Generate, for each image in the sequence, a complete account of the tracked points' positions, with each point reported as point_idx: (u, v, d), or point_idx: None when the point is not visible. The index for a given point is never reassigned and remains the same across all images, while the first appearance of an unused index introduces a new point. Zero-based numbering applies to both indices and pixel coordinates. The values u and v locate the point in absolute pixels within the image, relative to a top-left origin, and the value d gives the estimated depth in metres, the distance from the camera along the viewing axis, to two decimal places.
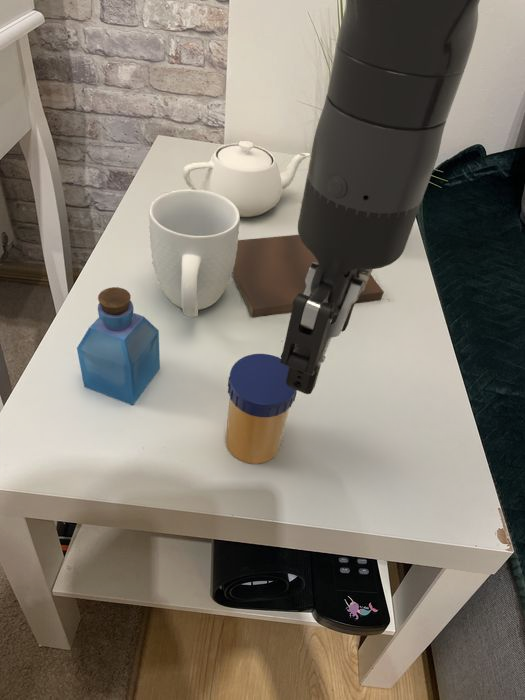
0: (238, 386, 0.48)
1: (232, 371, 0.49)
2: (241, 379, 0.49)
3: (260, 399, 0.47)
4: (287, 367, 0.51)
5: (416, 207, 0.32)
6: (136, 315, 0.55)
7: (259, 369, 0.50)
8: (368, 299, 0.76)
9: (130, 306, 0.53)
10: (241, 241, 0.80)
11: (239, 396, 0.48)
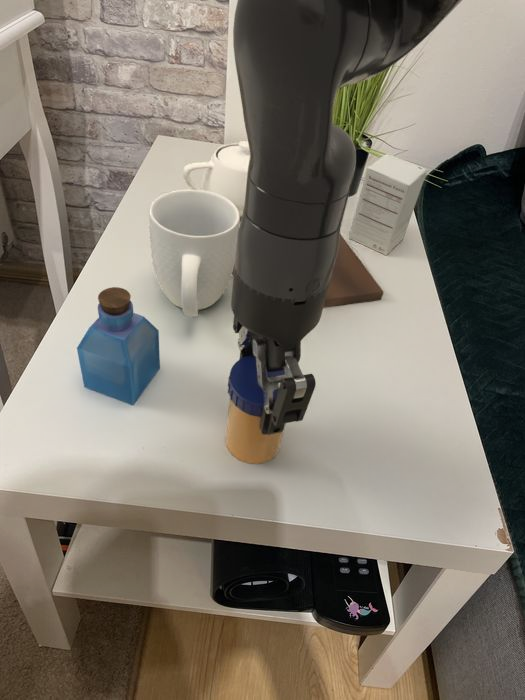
0: (238, 386, 0.48)
1: (232, 371, 0.49)
2: (241, 379, 0.49)
3: (260, 399, 0.47)
4: None
5: (234, 266, 0.40)
6: (136, 315, 0.55)
7: None
8: (368, 299, 0.76)
9: (130, 306, 0.53)
10: None
11: (239, 396, 0.48)
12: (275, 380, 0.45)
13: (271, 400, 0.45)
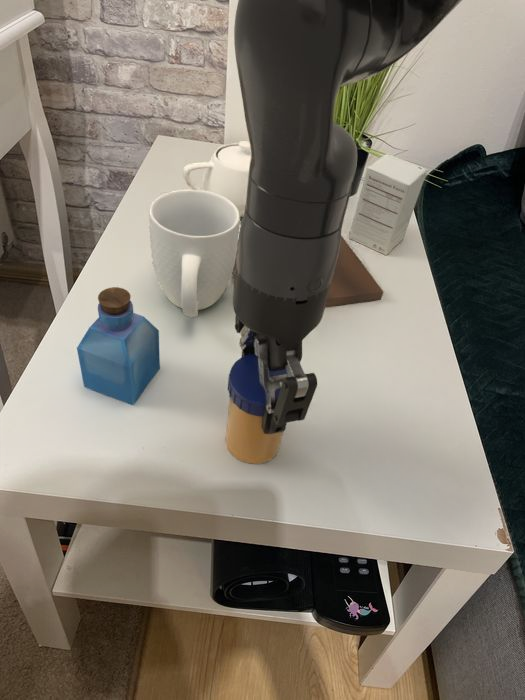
0: None
1: (255, 400, 0.47)
2: None
3: None
4: (249, 357, 0.51)
5: (236, 266, 0.40)
6: (136, 315, 0.55)
7: (252, 379, 0.49)
8: (368, 299, 0.76)
9: (130, 306, 0.53)
10: None
11: None
12: (276, 380, 0.45)
13: (273, 399, 0.45)
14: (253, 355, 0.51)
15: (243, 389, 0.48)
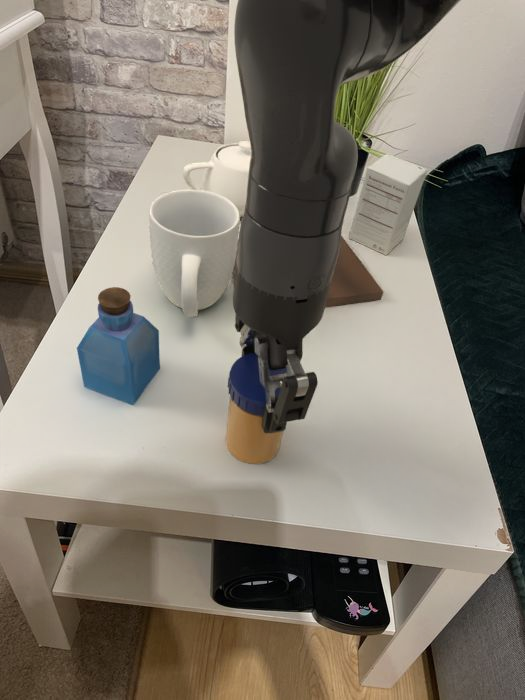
0: None
1: None
2: None
3: None
4: (236, 384, 0.48)
5: (236, 264, 0.40)
6: (136, 315, 0.55)
7: None
8: (368, 299, 0.76)
9: (130, 306, 0.53)
10: None
11: None
12: (276, 379, 0.45)
13: (273, 398, 0.45)
14: (233, 380, 0.48)
15: None
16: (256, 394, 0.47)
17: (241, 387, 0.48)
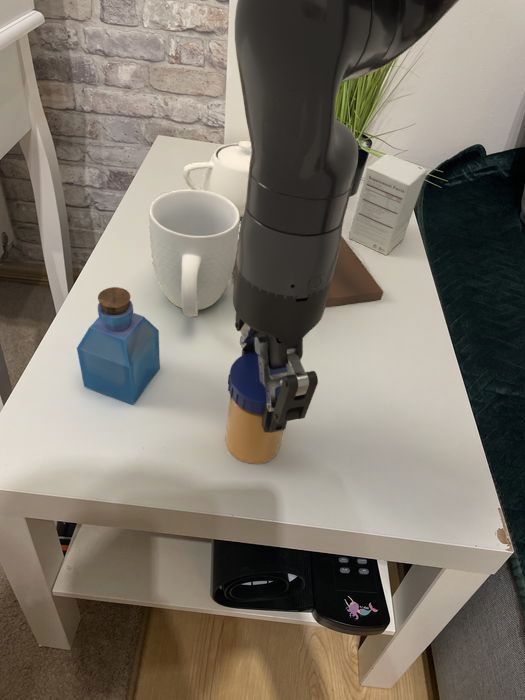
0: (257, 354, 0.51)
1: None
2: None
3: (238, 365, 0.50)
4: None
5: (236, 263, 0.40)
6: (136, 315, 0.55)
7: None
8: (368, 299, 0.76)
9: (130, 306, 0.53)
10: None
11: None
12: (277, 378, 0.45)
13: (273, 398, 0.45)
14: None
15: None
16: None
17: None
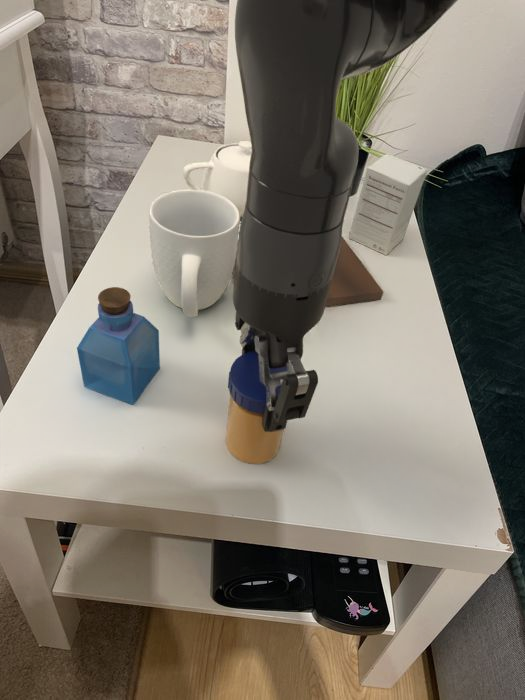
0: (235, 375, 0.48)
1: (236, 360, 0.50)
2: (241, 370, 0.49)
3: (251, 393, 0.47)
4: None
5: (236, 262, 0.40)
6: (136, 315, 0.55)
7: None
8: (368, 299, 0.76)
9: (130, 306, 0.53)
10: None
11: (233, 385, 0.48)
12: (277, 377, 0.45)
13: (273, 397, 0.45)
14: None
15: (252, 356, 0.51)
16: None
17: None
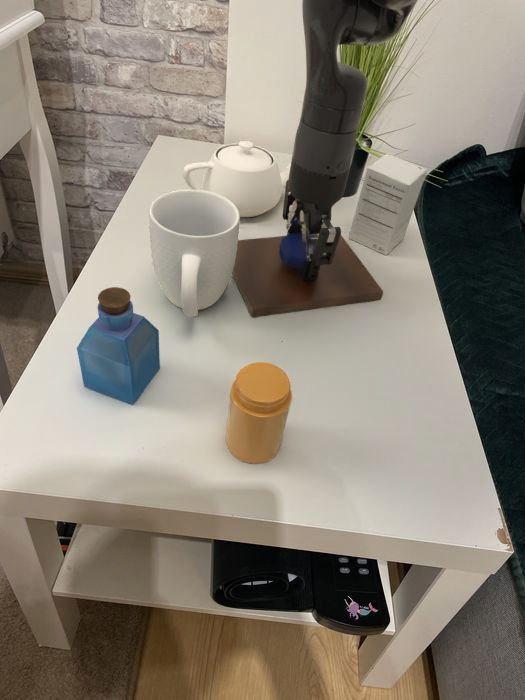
0: (284, 245, 0.75)
1: (284, 237, 0.76)
2: (288, 242, 0.75)
3: (295, 254, 0.73)
4: None
5: (292, 158, 0.66)
6: (136, 315, 0.55)
7: None
8: (368, 299, 0.76)
9: (130, 306, 0.53)
10: (241, 241, 0.80)
11: (283, 250, 0.74)
12: (313, 238, 0.71)
13: (311, 251, 0.71)
14: None
15: (294, 235, 0.77)
16: (309, 236, 0.77)
17: None
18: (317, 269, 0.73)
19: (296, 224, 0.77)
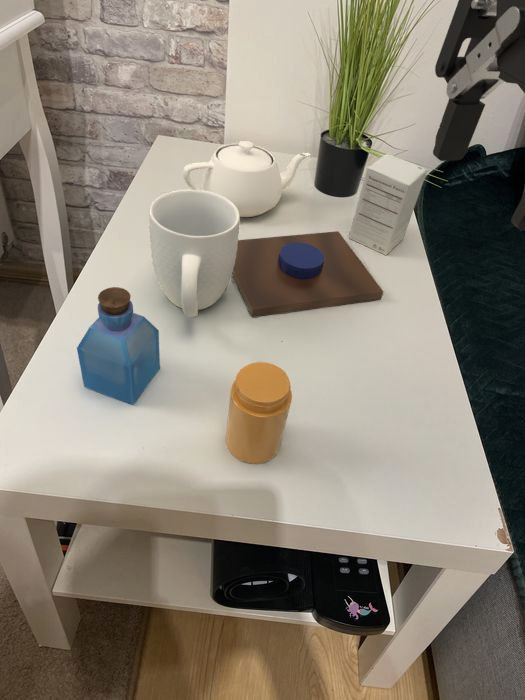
0: (284, 254, 0.76)
1: (283, 247, 0.77)
2: (287, 252, 0.76)
3: (294, 263, 0.75)
4: (320, 253, 0.77)
5: None
6: (136, 315, 0.55)
7: (301, 250, 0.77)
8: (368, 299, 0.76)
9: (130, 306, 0.53)
10: (241, 241, 0.80)
11: (282, 259, 0.75)
12: None
13: None
14: (321, 255, 0.77)
15: (293, 245, 0.78)
16: (308, 247, 0.78)
17: (317, 251, 0.77)
18: None
19: (474, 84, 0.32)
